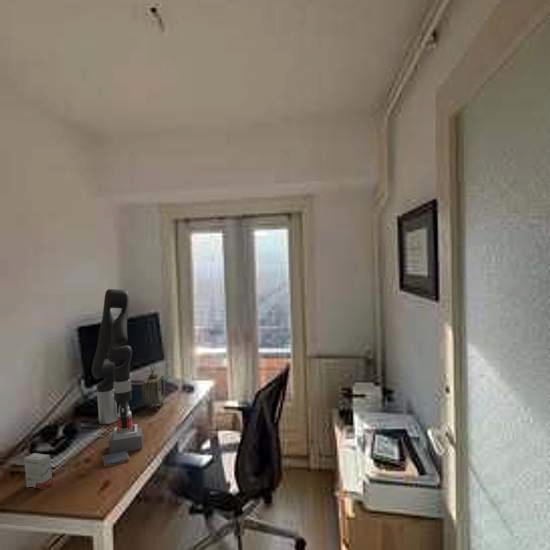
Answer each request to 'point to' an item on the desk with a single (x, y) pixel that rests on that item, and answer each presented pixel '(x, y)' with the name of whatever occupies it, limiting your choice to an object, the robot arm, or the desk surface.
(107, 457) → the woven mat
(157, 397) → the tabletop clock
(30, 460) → the ink box
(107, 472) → the desk surface
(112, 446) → the display riser
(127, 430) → the pill bottle
